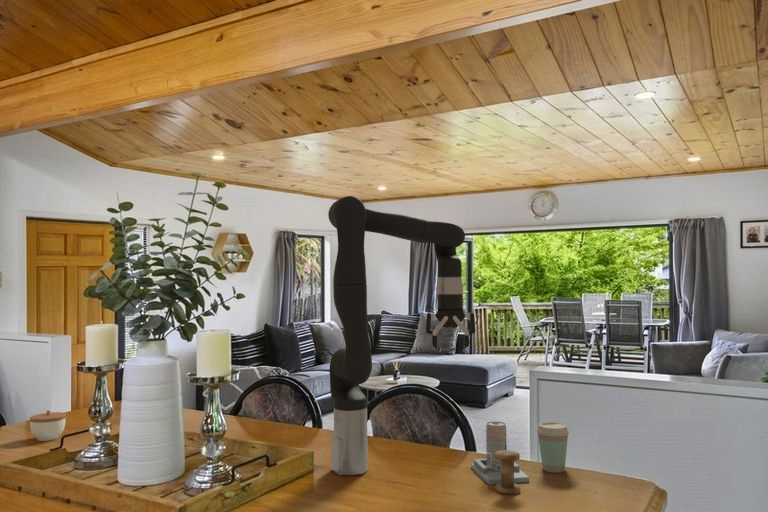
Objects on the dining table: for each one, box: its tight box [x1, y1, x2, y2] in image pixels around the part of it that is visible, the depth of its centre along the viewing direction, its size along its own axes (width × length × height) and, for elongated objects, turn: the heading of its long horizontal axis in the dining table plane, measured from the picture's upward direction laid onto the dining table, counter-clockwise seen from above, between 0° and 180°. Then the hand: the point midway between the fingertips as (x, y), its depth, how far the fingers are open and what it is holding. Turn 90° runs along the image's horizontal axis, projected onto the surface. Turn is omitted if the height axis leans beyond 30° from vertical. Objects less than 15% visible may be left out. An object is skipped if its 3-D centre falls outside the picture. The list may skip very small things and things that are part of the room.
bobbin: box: [495, 449, 521, 496], centre depth 150 cm, size 6×6×9 cm
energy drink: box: [485, 420, 508, 471], centre depth 164 cm, size 5×5×12 cm
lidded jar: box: [29, 409, 67, 442], centre depth 205 cm, size 11×11×9 cm
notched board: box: [470, 458, 530, 486], centre depth 162 cm, size 14×11×2 cm
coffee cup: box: [536, 421, 570, 474], centre depth 166 cm, size 8×8×12 cm
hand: (450, 348), depth 177 cm, fingers open, 8 cm apart
